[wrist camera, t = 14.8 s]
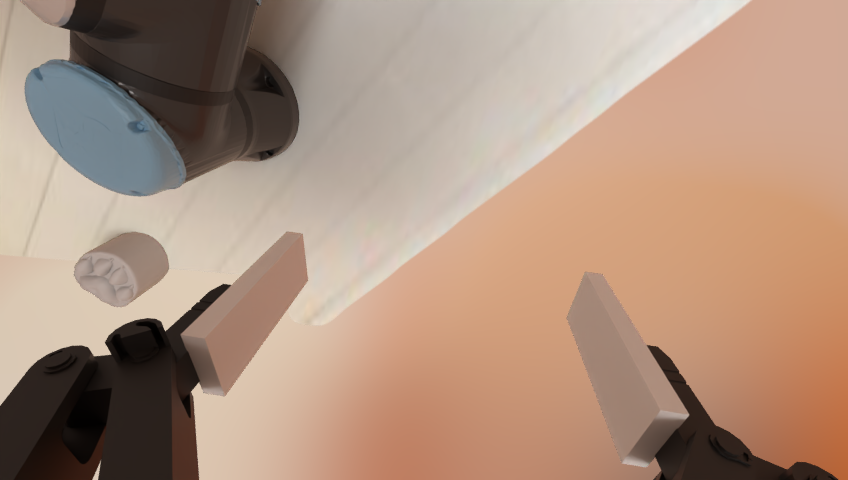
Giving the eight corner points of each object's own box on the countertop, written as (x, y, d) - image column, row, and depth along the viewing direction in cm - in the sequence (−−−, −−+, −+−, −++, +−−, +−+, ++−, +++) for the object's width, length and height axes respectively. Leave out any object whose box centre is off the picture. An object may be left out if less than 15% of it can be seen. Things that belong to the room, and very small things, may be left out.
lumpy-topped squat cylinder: (105, 256, 65) (58, 283, 58) (129, 219, 60) (80, 242, 52) (153, 289, 68) (114, 318, 61) (179, 257, 63) (140, 284, 56)
